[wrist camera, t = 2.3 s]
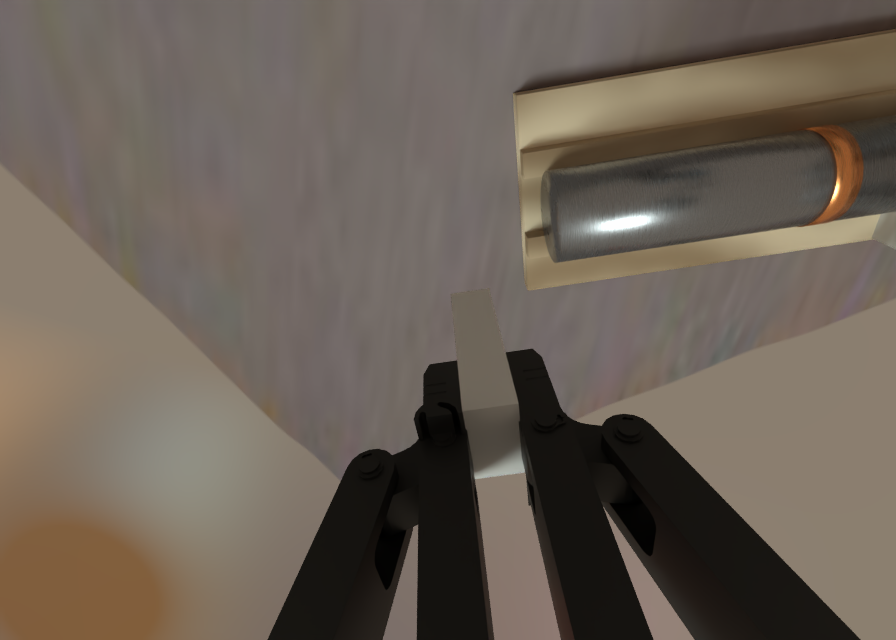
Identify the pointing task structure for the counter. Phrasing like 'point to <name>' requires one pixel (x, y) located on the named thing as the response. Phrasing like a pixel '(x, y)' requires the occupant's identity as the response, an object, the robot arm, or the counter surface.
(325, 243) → the counter surface
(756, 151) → the tube
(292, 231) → the counter surface
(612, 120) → the rail
